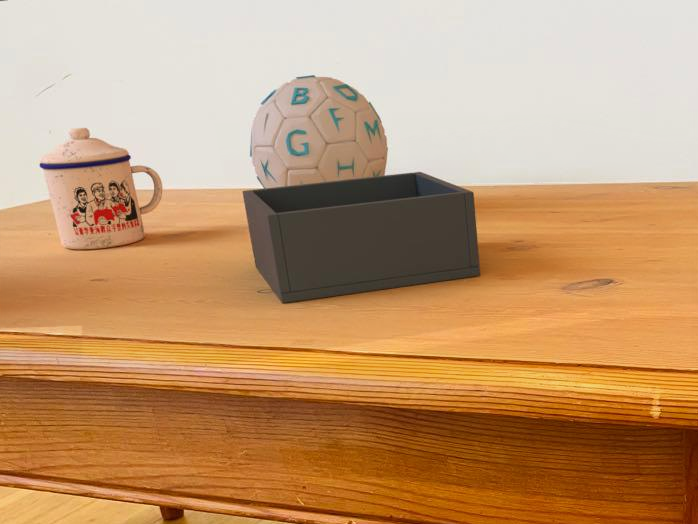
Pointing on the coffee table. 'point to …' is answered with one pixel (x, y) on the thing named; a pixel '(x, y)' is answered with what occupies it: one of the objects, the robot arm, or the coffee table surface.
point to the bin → (362, 235)
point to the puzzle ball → (316, 134)
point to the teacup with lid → (95, 193)
